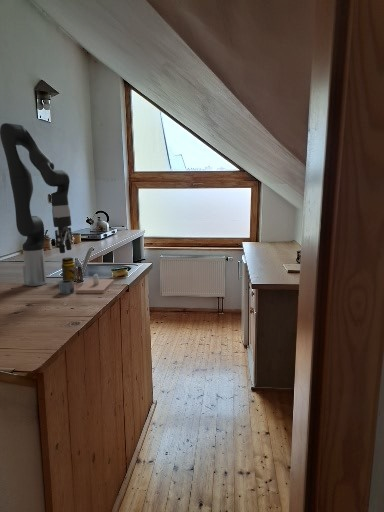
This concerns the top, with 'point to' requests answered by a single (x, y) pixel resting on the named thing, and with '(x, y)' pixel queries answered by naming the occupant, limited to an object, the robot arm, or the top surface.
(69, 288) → the hub
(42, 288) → the top surface
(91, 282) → the shaft stand
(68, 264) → the condiment
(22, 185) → the robot arm
